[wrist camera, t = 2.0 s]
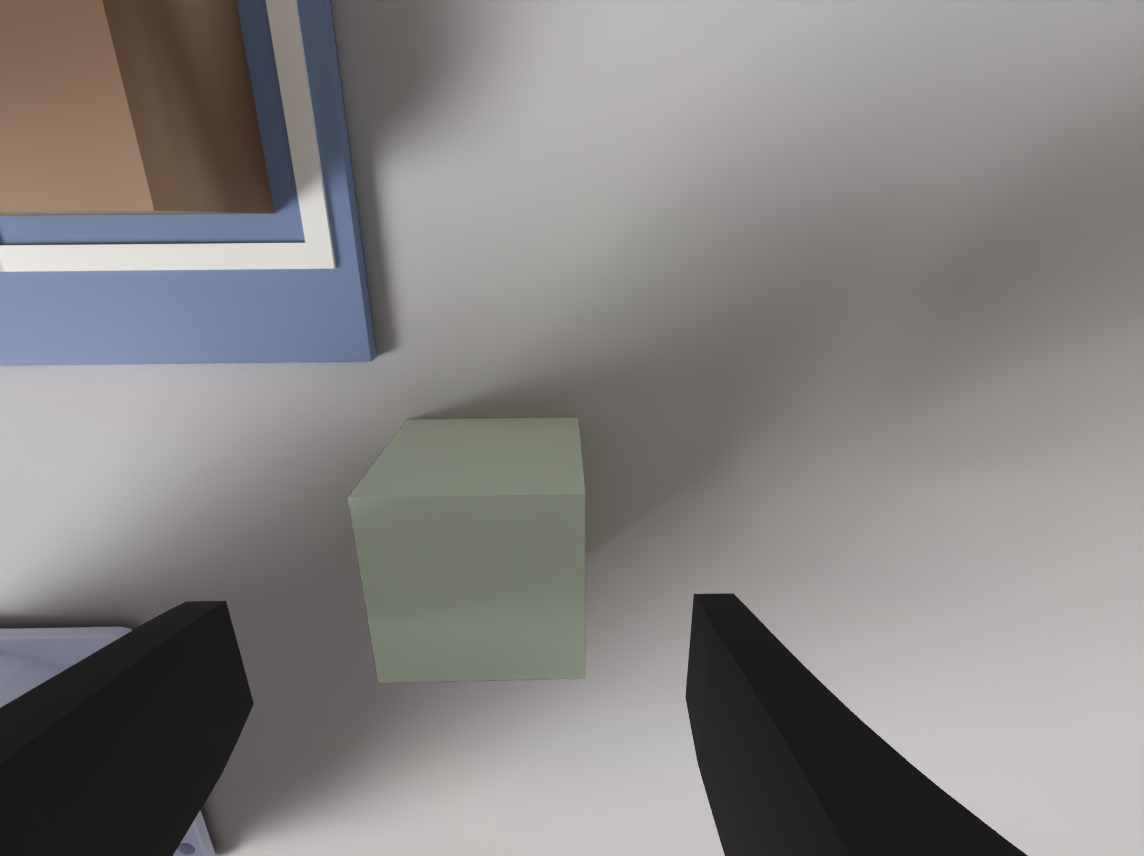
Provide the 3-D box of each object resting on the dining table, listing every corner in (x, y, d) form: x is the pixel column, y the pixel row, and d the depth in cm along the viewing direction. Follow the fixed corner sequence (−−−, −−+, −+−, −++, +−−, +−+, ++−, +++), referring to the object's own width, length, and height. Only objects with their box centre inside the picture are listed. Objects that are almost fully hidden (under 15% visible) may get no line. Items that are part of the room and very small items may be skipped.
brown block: (274, 213, 11) (154, 210, 8) (18, 215, 11) (-213, 213, 8) (216, -108, 9) (32, -284, 6) (-88, -108, 9) (-443, -287, 6)
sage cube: (578, 561, 15) (585, 678, 11) (424, 563, 15) (378, 682, 11) (578, 416, 13) (585, 493, 9) (407, 418, 13) (347, 497, 9)
